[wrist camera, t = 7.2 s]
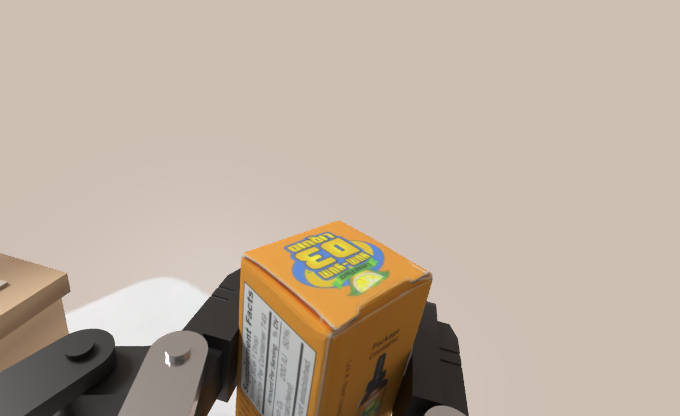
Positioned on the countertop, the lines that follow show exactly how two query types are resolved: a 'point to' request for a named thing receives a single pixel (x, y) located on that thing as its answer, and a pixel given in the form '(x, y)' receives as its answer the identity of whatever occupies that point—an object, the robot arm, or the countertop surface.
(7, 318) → the box
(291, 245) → the supplement box
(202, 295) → the countertop surface
